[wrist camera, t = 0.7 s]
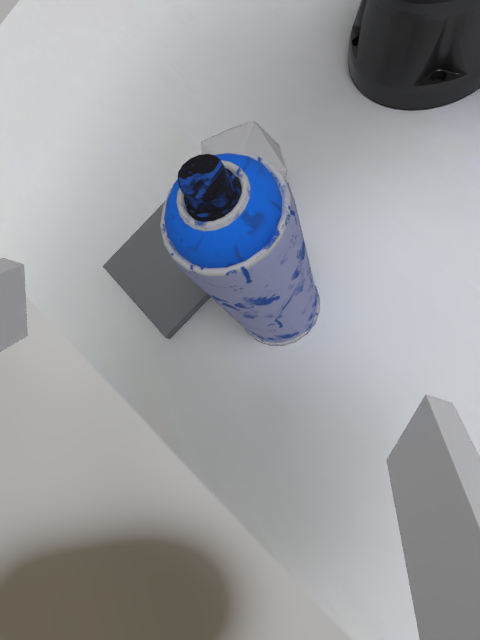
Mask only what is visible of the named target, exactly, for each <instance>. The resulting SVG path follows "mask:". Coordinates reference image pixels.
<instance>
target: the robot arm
mask: <svg viewBox="0 0 480 640" xmlns="http://www.w3.org/2000/svg"><path fill="white" fill-rule="evenodd" d="M349 70H350V74H351V77H352V80H353V81H354V83H355V85H356V86H357V88H358V89H359V90H360V91H361V92H362V93H363V94H364V95H366V96H367V97H369V98H370V99H372V100H374V101H376V102H378V103H380V104H383V105H386V106H389V107H394V108H400V109H425V108H432V107H437V106H441V105H445V104H448V103H451V102H454V101H456V100H459V99H461V98H463V97H465V96H467V95H469V94H471V93H472V92H474V91H476V90H477V89H479V88H480V0H361V3H360V6H359V9H358V12H357V15H356V18H355V21H354V24H353V27H352V31H351V35H350V41H349ZM26 315H27V314H26V294H25V274H24V264H21V263H18V262H14V261H11V260H8V259H5V258H2V259H0V352H1V351H2V350H4V349H6V348H7V347H9V346H11V345H13V344H14V343H16V342H18V341H19V340H21V339H23V338H25V337H26V336H27V316H26ZM387 465H388V470H389V475H390V481H391V486H392V492H393V497H394V502H395V508H396V513H397V519H398V524H399V529H400V535H401V540H402V546H403V551H404V556H405V562H406V567H407V573H408V578H409V583H410V589H411V594H412V600H413V605H414V610H415V616H416V621H417V627H418V632H419V638H420V640H480V457H479V455H478V453H477V451H476V449H475V447H474V445H473V443H472V441H471V439H470V437H469V435H468V433H467V431H466V429H465V427H464V425H463V423H462V421H461V419H460V417H459V415H458V413H457V411H456V409H455V407H454V405H453V403H451V402H448V401H445V400H442V399H439V398H436V397H433V396H429V395H425V397H424V398H423V400H422V402H421V403H420V405H419V407H418V408H417V410H416V412H415V413H414V415H413V417H412V418H411V420H410V422H409V423H408V425H407V427H406V428H405V430H404V432H403V433H402V435H401V437H400V438H399V440H398V442H397V443H396V445H395V447H394V449H393V450H392V452H391V454H390V455H389V457H388V459H387Z"/></svg>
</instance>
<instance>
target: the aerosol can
mask: <svg viewBox="0 0 480 640" xmlns="http://www.w3.org/2000/svg"><path fill="white" fill-rule="evenodd" d="M160 226H161V231H162V237H163V242H164V245H165V247H166V249H167V251H168V253H169V254H170V256H171V258H172V259H173V261H174V263H175V264H176V266H177V267H178V268H179V269H180V270H182V271H183V272H184V273H185V274H186V275H187V276H188V277H189V278H190V279H192V280H193V281H194V282H195V283H196V284H197V285H198V286H199V287H200V288H202V289H203V290H204V291H205V292H206V293H207V294H208V295H209V296H210V297H212V298H213V299H214V300H215V301H216V302H217V303H218V304H219V305H220V306H222V307H223V308H224V309H225V310H226V311H227V312H228V313H229V314H230V315H232V316H233V317H234V318H235V319H236V320H237V321H238V322H239V323H240V324H241V325H243V326H244V328H245V329H246V331H247V332H248V333H249V334H250V335H251V336H252V337H254V338H255V339H256V340H258V341H259V342H262V343H265V344H268V345H287V344H290V343H293V342H296V341H298V340H299V339H301V338H302V337H304V336H305V335H306V334H308V332H309V331H310V330H311V328H312V327H313V326H314V325H315V323H316V320H317V317H318V314H319V312H320V298H319V295H318V292H317V289H316V286H315V284H314V281H313V277H312V273H311V268H310V264H309V260H308V256H307V251H306V247H305V243H304V239H303V234H302V230H301V226H300V222H299V217H298V213H297V209H296V205H295V201H294V198H293V195H292V192H291V189H290V187H289V184H288V183H287V182H286V180H285V178H284V177H283V176H282V175H281V173H280V172H279V171H278V170H277V169H276V168H275V167H274V165H273V164H271V163H270V162H268V161H266V160H264V159H262V158H260V157H258V156H256V155H254V154H247V153H240V152H232V153H224V154H217V155H211V154H203V155H198V156H196V157H193V158H191V159H190V160H188V161H187V162H186V163H185V164H183V166H182V167H181V169H180V170H179V173H178V179H177V181H176V182H175V183H174V185H173V187H172V189H171V190H170V192H169V194H168V196H167V199H166V201H165V203H164V205H163V209H162V216H161V224H160Z"/></svg>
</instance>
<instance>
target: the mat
mask: <svg viewBox="0 0 480 640" xmlns="http://www.w3.org/2000/svg"><path fill="white" fill-rule="evenodd" d="M164 203H165V202H164ZM164 203H163V204H162V205H161V206H160V207H159V208H158V209H157V210H156V211H155V213H154V214H153V215H152V216H151V217H150V218H149V219H148V220H147V221H146V222H145V223H144V224H143V225H142V226H141V227H140V228H139V229H138V230H137V231H136V232H135V233H134V234H133V235H132V236H131V238H130V239H129V240H128V241H127V242H126V243H125V244H124V245H123V246H122V247H121V248H120V249H119V250H118V251H117V252H116V253H115V254H114V255H113V256H112V257H111V258H110V259H109V260H108V261H107V263H106V264H105V265H104V266H103V267H104V268H105V269H106V270H107V272H108V273H109V274H110V275H111V276H112V277H113V278H114V280H115V281H116V282H117V283H118V284H119V285H120V286H121V287H122V289H123V290H124V291H125V292H126V293H127V294H128V295H129V297H130V298H131V299H132V300H133V301H134V302H135V303H136V304H137V306H138V307H139V308H140V309H141V310H142V311H143V312H144V313H145V315H146V316H147V317H148V318H149V319H150V320H151V321H152V323H153V324H154V325H155V326H156V327H157V328H158V329H159V330H160V332H161V333H162V334H163V335H164V336H165V337H167V338H169V339H170V338H171V337H172V336H173V335H174V334H175V333H176V332H177V331H178V330H179V329H180V328H181V327H182V326H183V325H184V324H185V323H186V322H187V320H188V319H189V318H190V317H191V316H192V315H193V314H194V313H195V312H196V311H197V310H198V309H199V308H200V307H201V306H202V305H203V304H204V303H205V302H206V301H207V300H208V299H209V298H210V296H209V295H208V294H207V293H206V292H205V291H204V290H203V289H202V288H200V287H199V286H198V285H197V284H196V283H195V282H194V281H193V280H192V279H190V278H189V277H188V276H187V275H186V274H185V273H184V272H183V271H182V270H180V269H179V268H178V267H177V266H176V264H175V263H174V261H173V259H172V258H171V256H170V254H169V253H168V251H167V249H166V247H165V245H164V242H163V237H162V231H161V226H160V224H161V216H162V209H163V205H164Z"/></svg>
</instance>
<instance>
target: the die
mask: <svg viewBox="0 0 480 640" xmlns="http://www.w3.org/2000/svg"><path fill="white" fill-rule="evenodd" d="M201 144H202V155H203V154H211V155H217V154H224V153H232V152H240V153H247V154H254V155H256V156H258V157H260V158H262V159H264V160H266V161H268V162H270V163H271V164H273V165H274V167H275V168H276V169H277V170H278V171H279V172H280V173H281V175H282V176H283V177H284V178H285V175H286V172H287V170H286V167H285V164H284V160H283V157H282V154H281V150H280V147H279V145H278V144H277V143H276V142H275V141H274V140H273V139H272V138H271V137H270V136H269V135H268V134H267V133H266V132H265V131H264V130H263V129H262V128H261V127H260V126H259V125H258V124H257V123H256V122H255V121H253V122H250V123H246V124H243V125H240V126H237V127H233V128H230V129H228V130H226V131H224V132H222V133H220V134H217V135H215V136H213V137H211V138H209V139H207V140H204V141H202V142H201Z"/></svg>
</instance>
